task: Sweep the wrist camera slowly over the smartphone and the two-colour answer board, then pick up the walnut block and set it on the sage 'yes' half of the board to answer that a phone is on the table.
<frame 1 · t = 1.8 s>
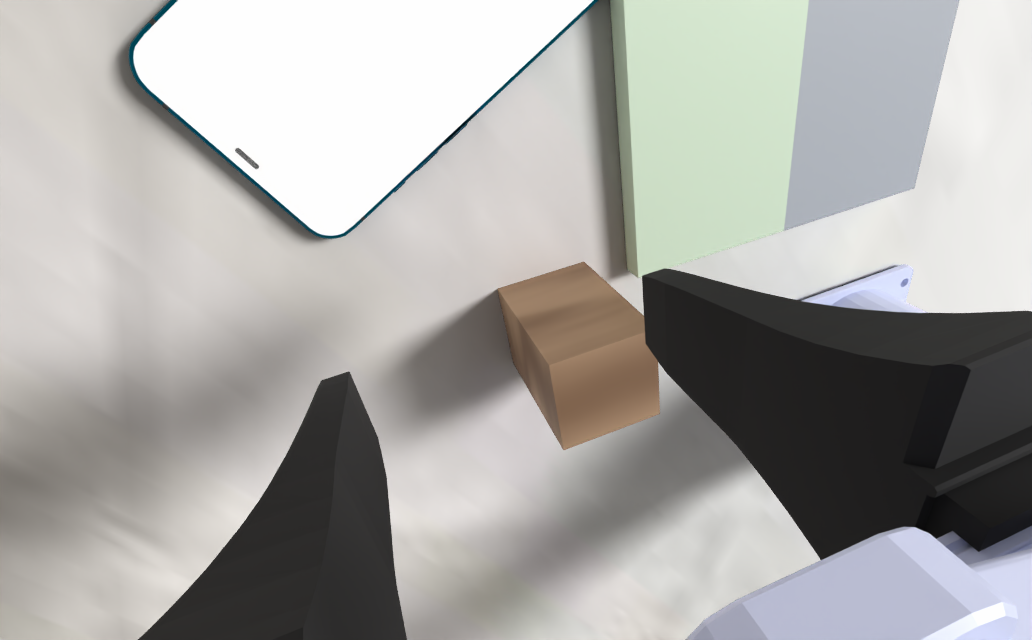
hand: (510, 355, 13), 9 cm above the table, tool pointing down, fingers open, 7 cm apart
answer board: (782, 77, 22), on the table
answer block: (547, 313, 24), on the table
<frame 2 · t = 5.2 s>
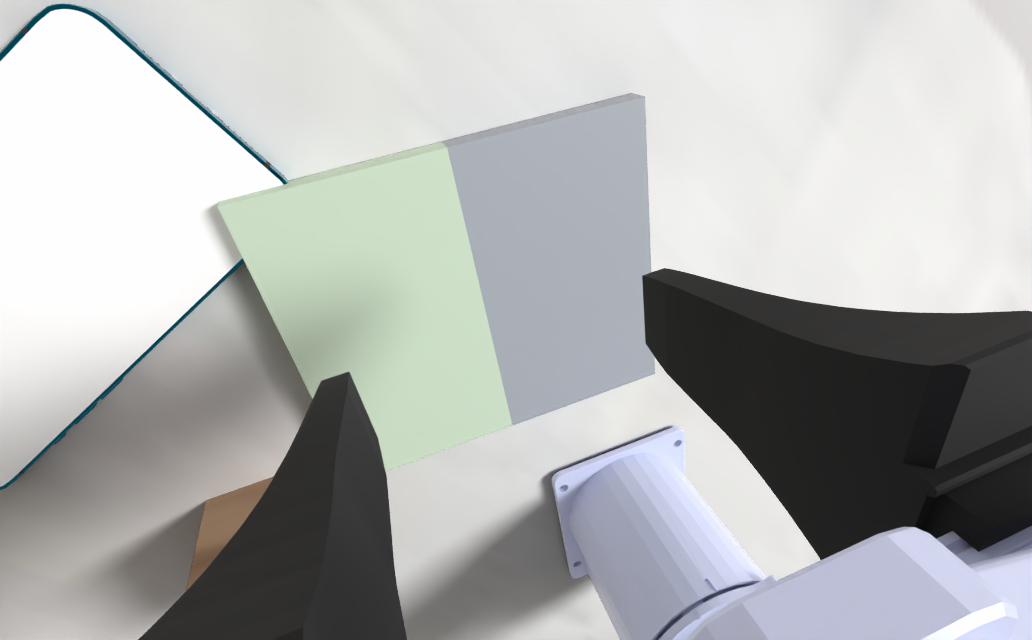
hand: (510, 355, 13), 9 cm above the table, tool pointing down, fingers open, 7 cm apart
answer board: (478, 298, 22), on the table
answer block: (272, 512, 24), on the table
smartphone: (37, 273, 18), on the table
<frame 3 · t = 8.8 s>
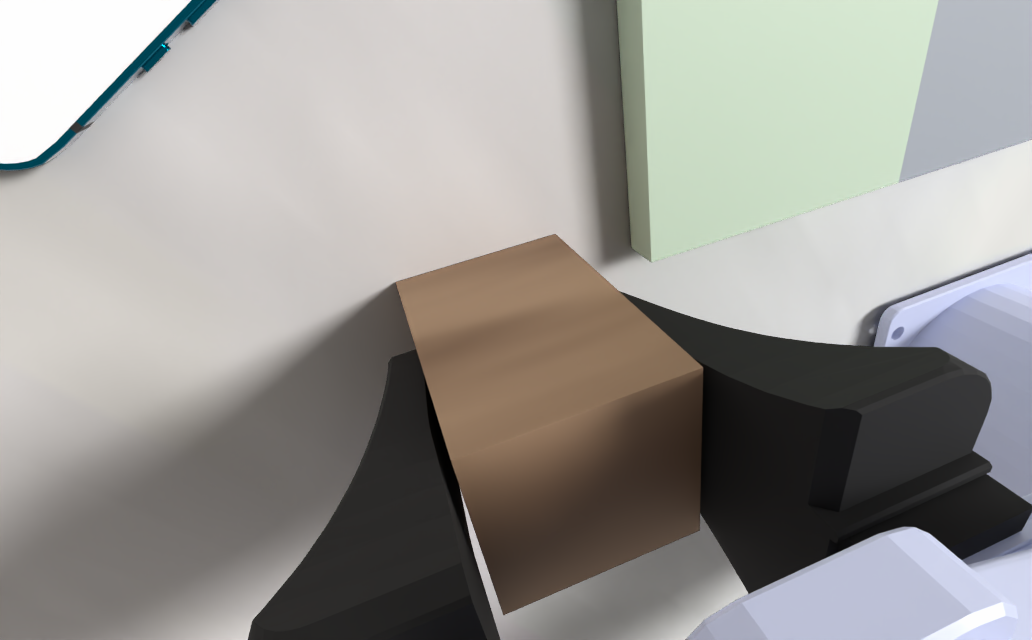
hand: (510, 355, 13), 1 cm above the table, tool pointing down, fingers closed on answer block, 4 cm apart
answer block: (493, 326, 14), on the table, touching gripper
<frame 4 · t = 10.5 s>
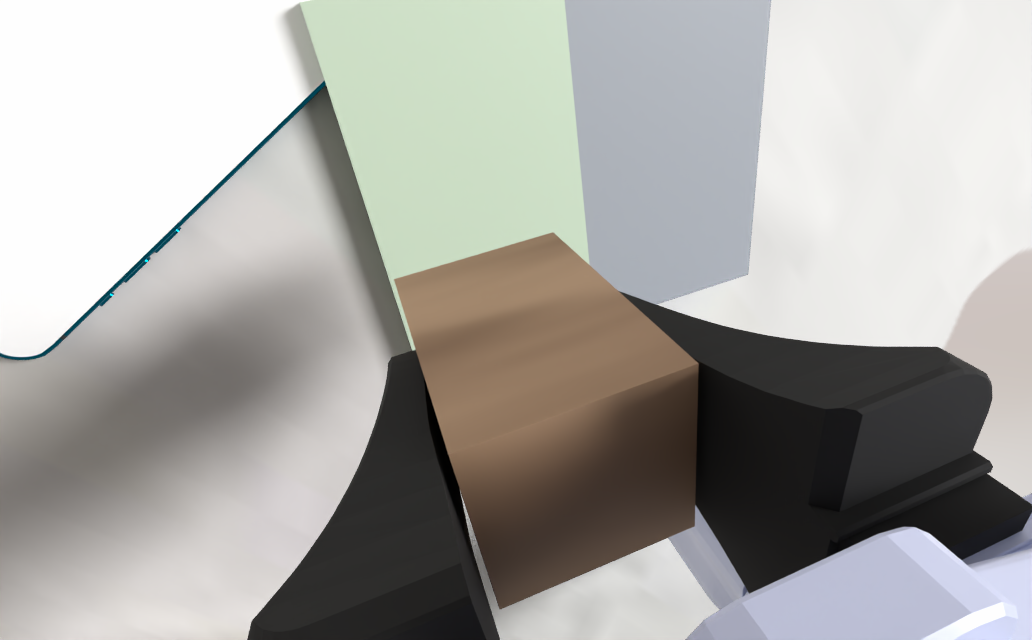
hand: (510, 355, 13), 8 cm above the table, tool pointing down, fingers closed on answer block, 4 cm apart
answer board: (569, 166, 20), on the table
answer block: (491, 324, 14), point 7 cm above the table, touching gripper
smartphone: (88, 88, 15), on the table
when the fingers open (4 cm above the table, at t = 12.3 s): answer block drops 1 cm, resting on answer board.
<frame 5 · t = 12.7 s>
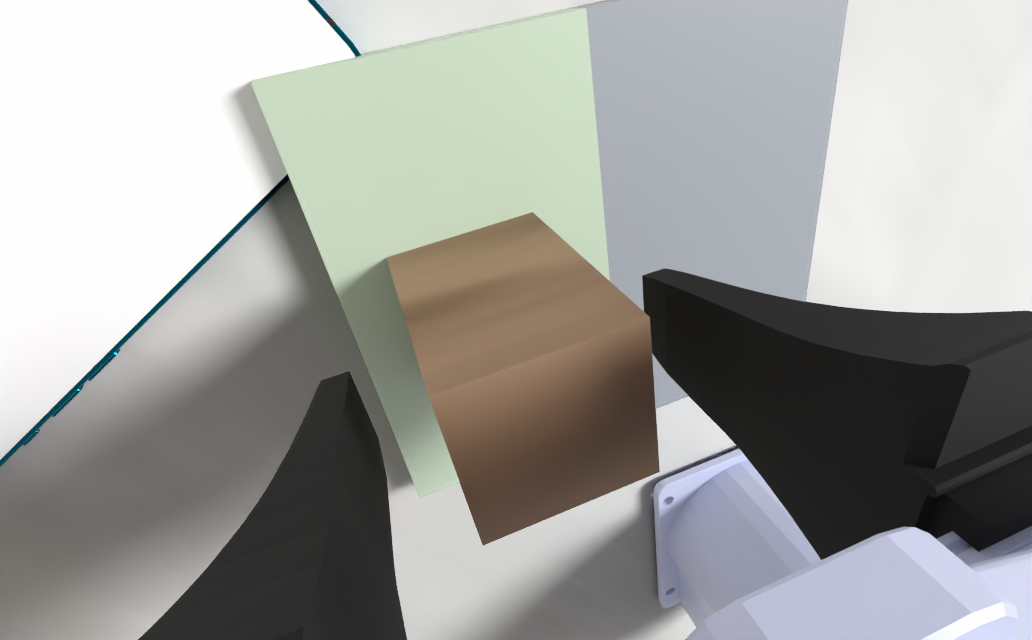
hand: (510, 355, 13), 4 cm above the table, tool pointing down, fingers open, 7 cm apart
answer board: (593, 248, 17), on the table
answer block: (478, 299, 15), point 1 cm above the table, touching answer board
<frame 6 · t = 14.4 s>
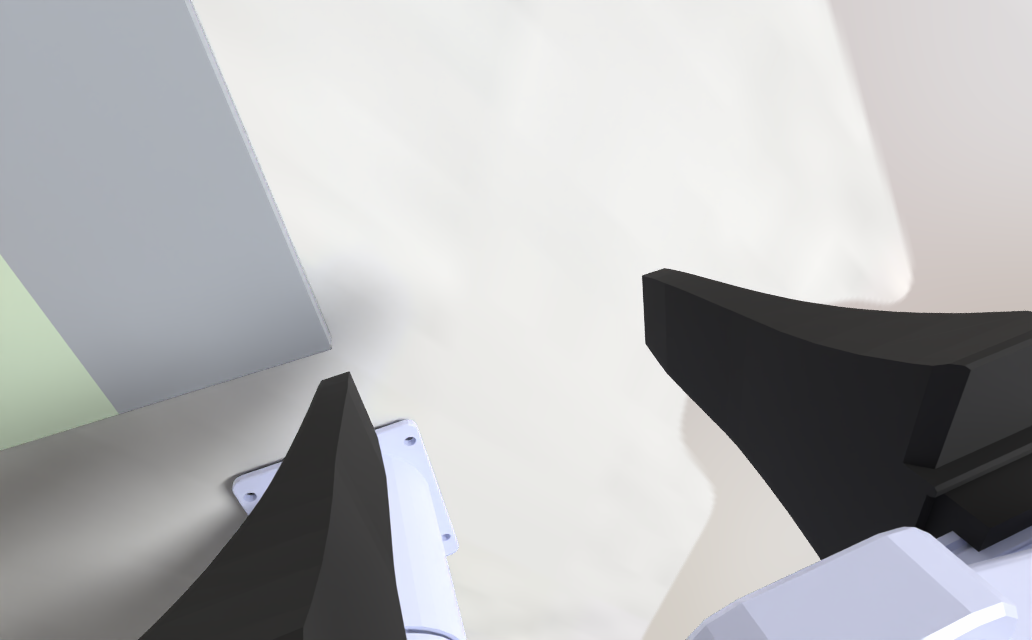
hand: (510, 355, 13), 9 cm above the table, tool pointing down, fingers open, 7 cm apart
answer board: (11, 236, 16), on the table
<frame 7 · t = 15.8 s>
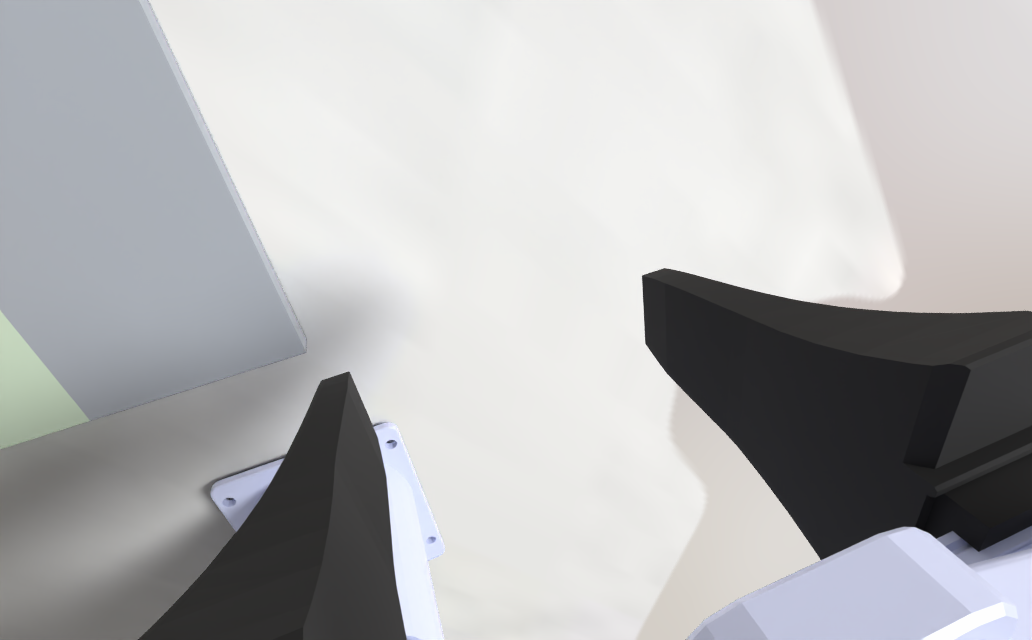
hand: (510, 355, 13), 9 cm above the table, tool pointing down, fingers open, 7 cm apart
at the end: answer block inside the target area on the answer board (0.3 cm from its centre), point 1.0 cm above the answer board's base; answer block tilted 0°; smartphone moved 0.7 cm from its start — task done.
